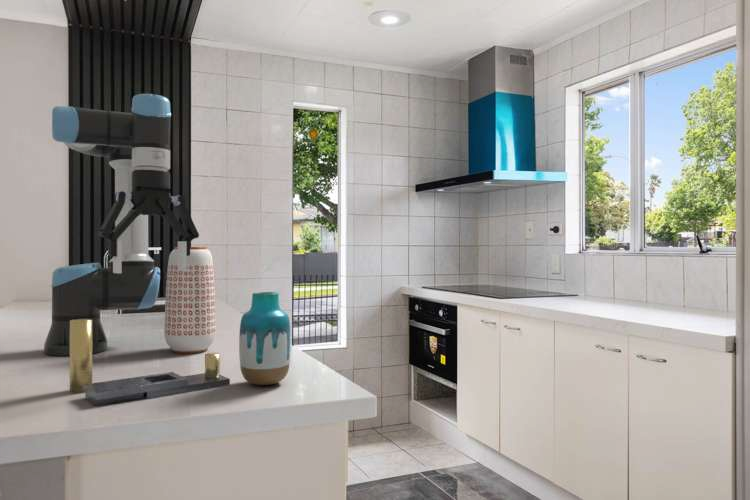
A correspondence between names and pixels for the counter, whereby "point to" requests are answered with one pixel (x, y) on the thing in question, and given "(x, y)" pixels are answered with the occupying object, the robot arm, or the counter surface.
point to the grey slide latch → (156, 384)
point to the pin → (80, 354)
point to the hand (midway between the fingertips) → (150, 272)
